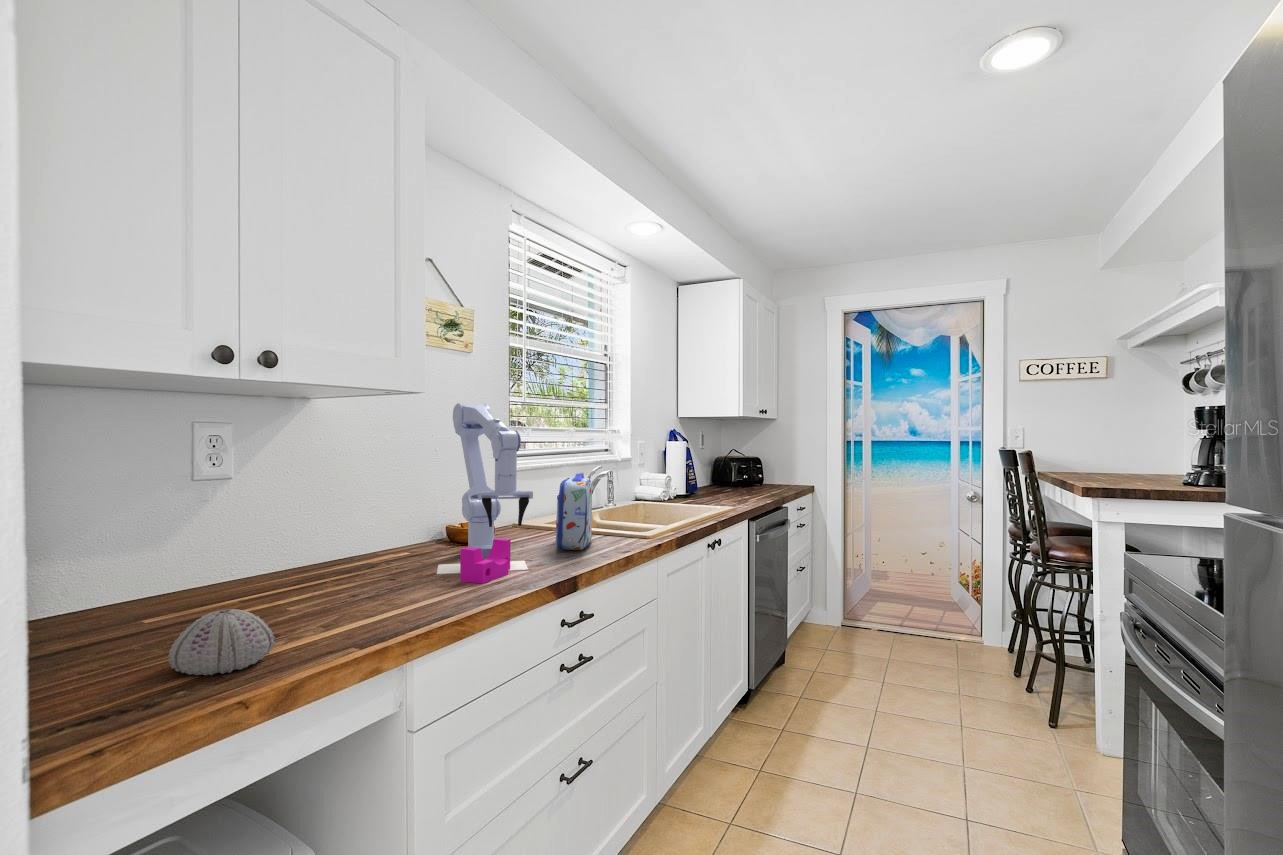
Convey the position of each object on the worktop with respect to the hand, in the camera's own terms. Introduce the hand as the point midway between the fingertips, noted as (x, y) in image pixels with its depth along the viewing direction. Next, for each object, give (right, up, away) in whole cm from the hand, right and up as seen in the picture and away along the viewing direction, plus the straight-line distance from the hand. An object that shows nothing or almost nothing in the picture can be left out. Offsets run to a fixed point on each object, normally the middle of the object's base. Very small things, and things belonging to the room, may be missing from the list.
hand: (505, 525), depth 172 cm
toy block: (0, -9, -18) cm, 20 cm away
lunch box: (+16, -10, +23) cm, 30 cm away
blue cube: (-4, -9, -9) cm, 13 cm away
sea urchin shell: (-26, -9, -76) cm, 81 cm away
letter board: (-4, -9, -9) cm, 13 cm away
